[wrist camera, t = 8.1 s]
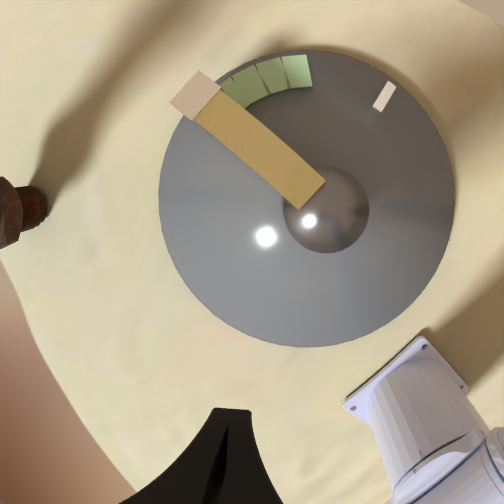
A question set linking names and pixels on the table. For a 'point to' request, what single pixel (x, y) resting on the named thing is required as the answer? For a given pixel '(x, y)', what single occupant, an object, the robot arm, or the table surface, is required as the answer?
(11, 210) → the bolt
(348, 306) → the dial plate
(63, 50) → the table surface
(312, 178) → the peg lever
